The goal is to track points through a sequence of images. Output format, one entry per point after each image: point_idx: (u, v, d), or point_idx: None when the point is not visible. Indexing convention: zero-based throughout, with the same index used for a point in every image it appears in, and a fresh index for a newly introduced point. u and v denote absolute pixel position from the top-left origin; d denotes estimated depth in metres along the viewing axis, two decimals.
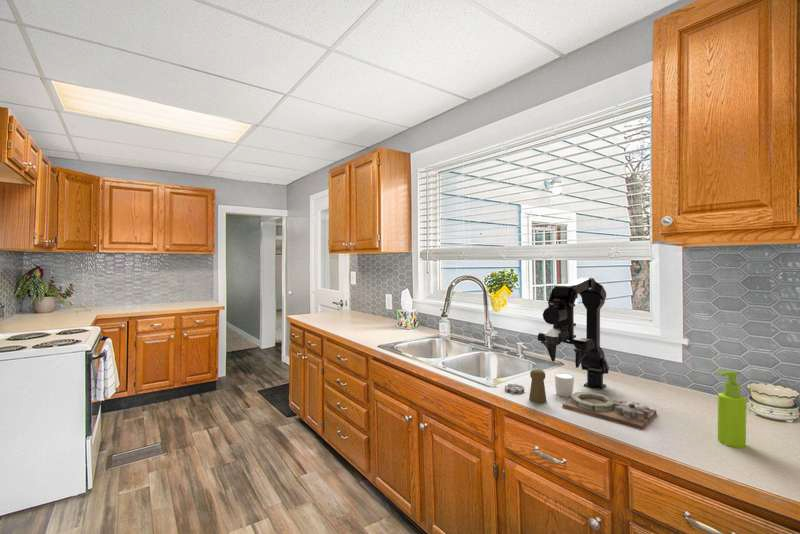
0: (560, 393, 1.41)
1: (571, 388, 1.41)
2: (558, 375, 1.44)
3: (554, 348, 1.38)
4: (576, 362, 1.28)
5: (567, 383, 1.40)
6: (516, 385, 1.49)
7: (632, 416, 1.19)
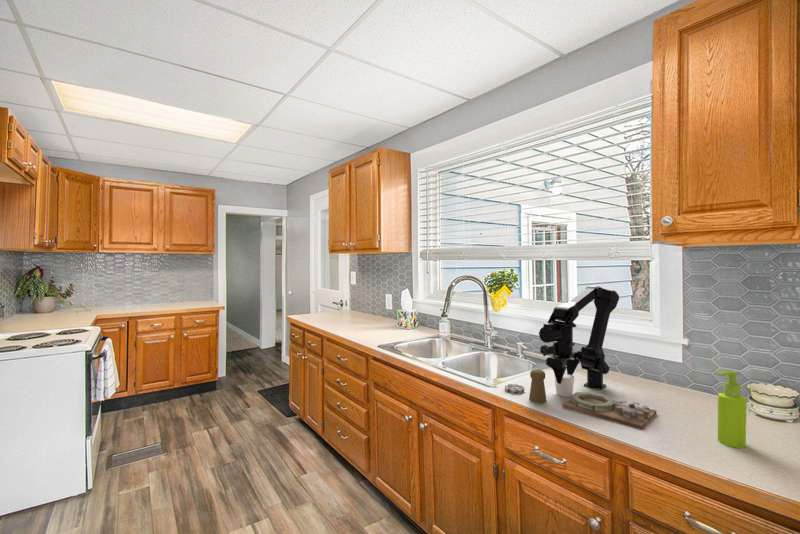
0: (560, 393, 1.41)
1: (571, 388, 1.41)
2: None
3: (572, 366, 1.46)
4: None
5: (567, 383, 1.40)
6: (516, 385, 1.49)
7: (632, 416, 1.19)
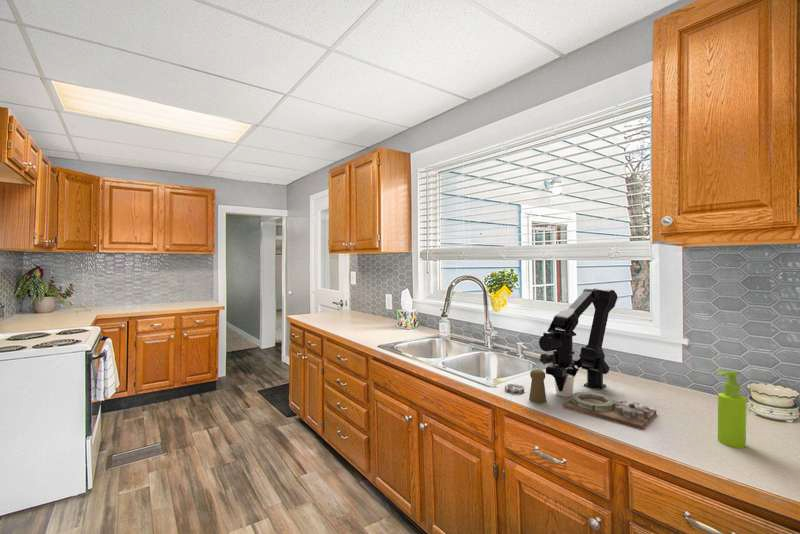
0: (560, 393, 1.41)
1: (571, 388, 1.41)
2: None
3: None
4: None
5: (567, 383, 1.40)
6: (516, 385, 1.49)
7: (632, 416, 1.19)
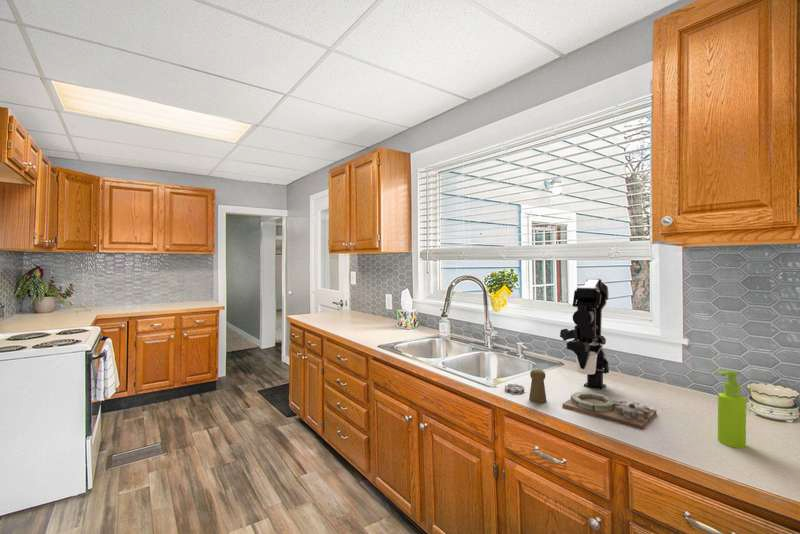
0: (582, 371, 1.31)
1: (594, 365, 1.30)
2: None
3: None
4: None
5: (590, 360, 1.30)
6: (516, 385, 1.49)
7: (632, 416, 1.19)
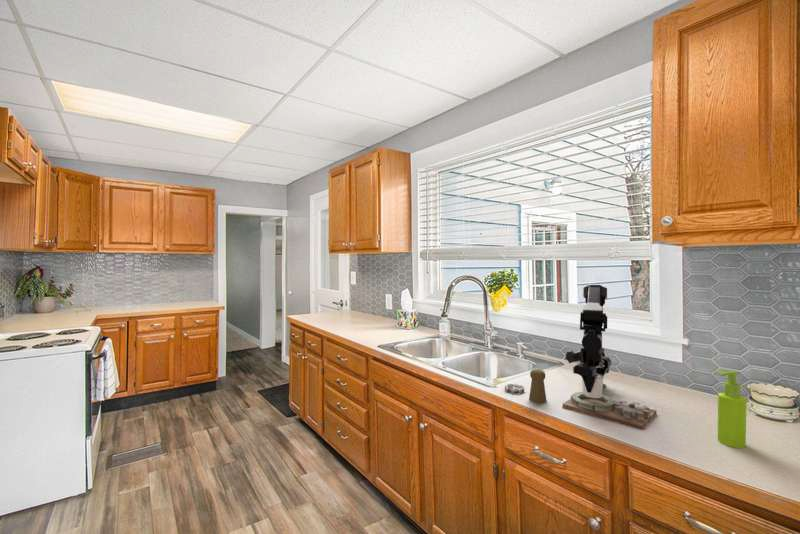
0: (588, 394, 1.29)
1: (601, 389, 1.29)
2: None
3: None
4: None
5: (596, 383, 1.28)
6: (516, 385, 1.49)
7: (632, 416, 1.19)
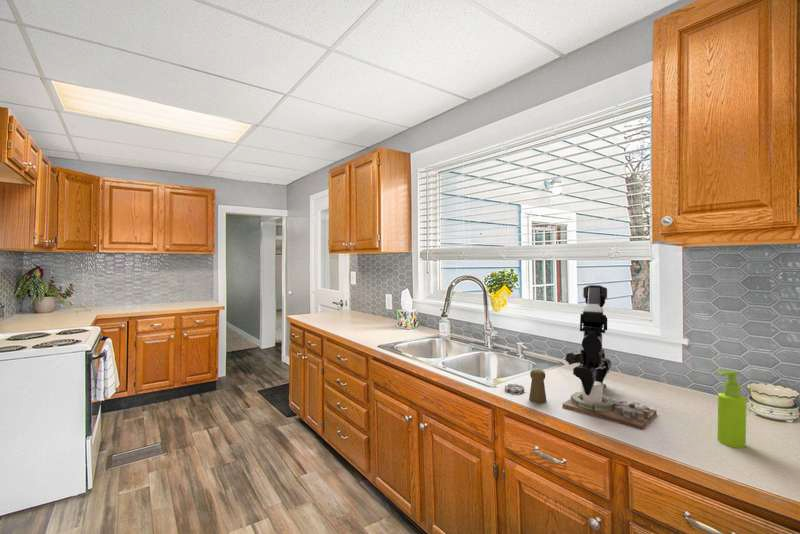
0: None
1: (601, 396, 1.29)
2: None
3: (601, 376, 1.33)
4: None
5: (596, 391, 1.28)
6: (516, 385, 1.49)
7: (632, 416, 1.19)
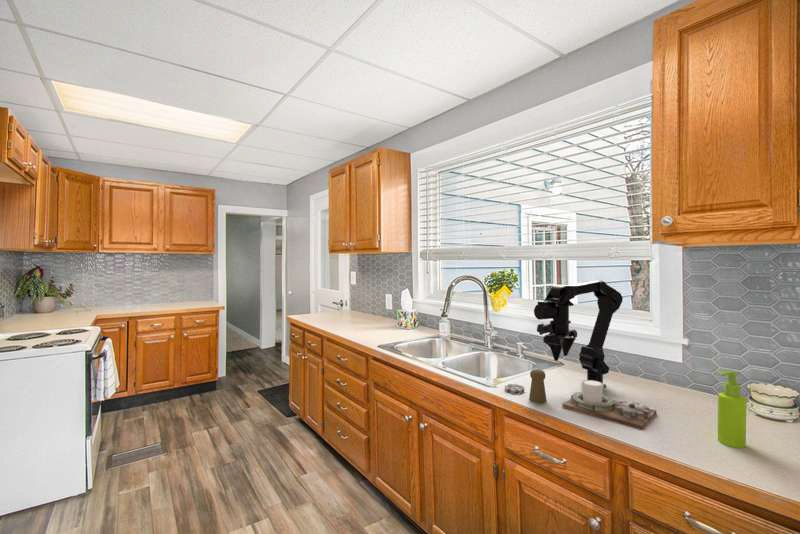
0: None
1: (601, 397, 1.29)
2: (586, 382, 1.32)
3: (568, 344, 1.48)
4: None
5: (596, 391, 1.28)
6: (516, 385, 1.49)
7: (632, 416, 1.19)
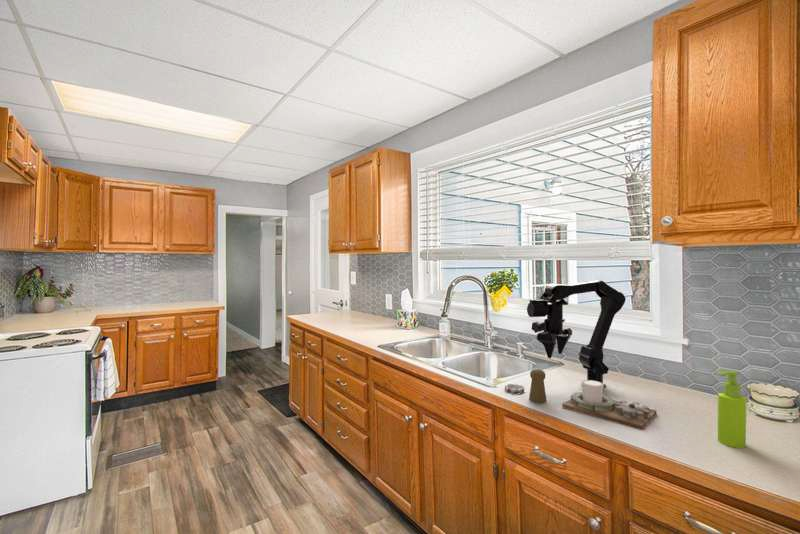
0: None
1: (601, 397, 1.29)
2: (586, 382, 1.32)
3: (562, 342, 1.51)
4: None
5: (596, 391, 1.28)
6: (516, 385, 1.49)
7: (632, 416, 1.19)
